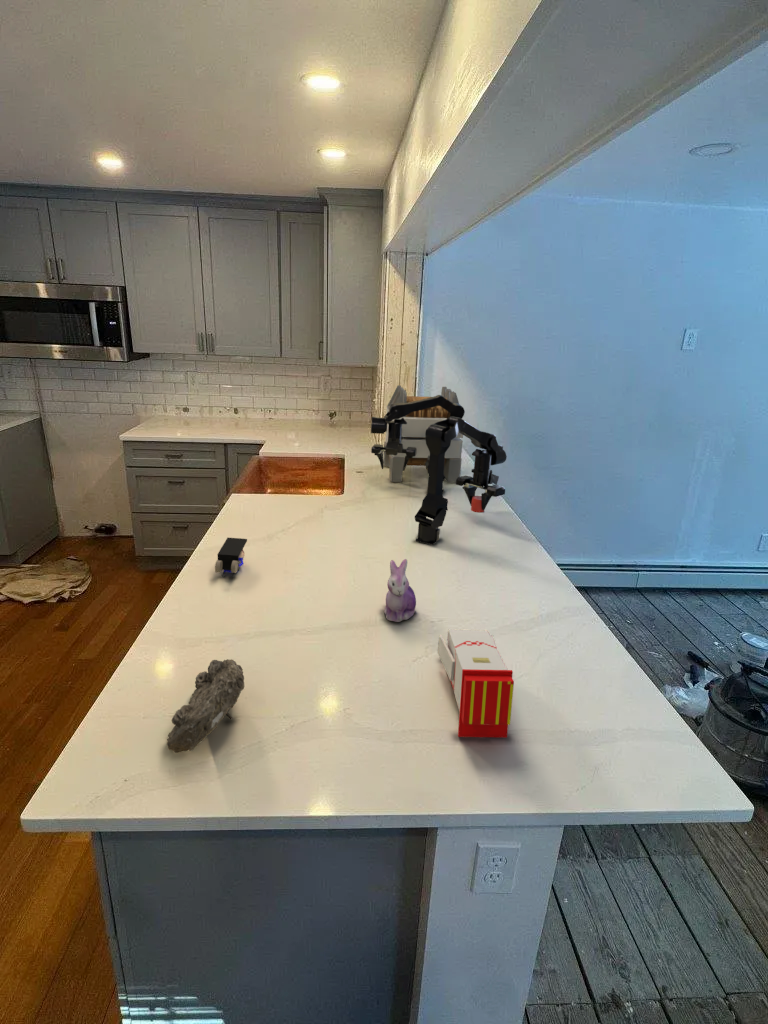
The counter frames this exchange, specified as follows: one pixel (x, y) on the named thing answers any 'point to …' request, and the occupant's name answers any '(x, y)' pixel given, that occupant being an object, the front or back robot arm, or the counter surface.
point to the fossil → (206, 705)
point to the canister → (476, 504)
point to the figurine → (399, 594)
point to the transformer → (423, 437)
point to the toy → (478, 682)
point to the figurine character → (230, 556)
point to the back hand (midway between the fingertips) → (393, 469)
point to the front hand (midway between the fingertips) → (477, 507)
